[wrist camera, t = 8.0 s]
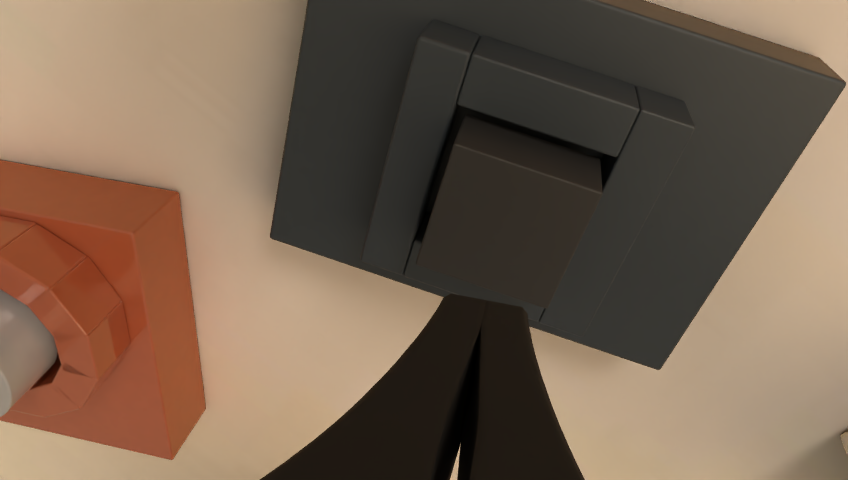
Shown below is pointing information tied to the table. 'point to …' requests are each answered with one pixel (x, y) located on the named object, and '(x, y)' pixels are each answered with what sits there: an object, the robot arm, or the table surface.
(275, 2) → the table surface
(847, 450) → the syrup box
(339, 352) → the table surface
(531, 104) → the dark gray socket plate
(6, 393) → the gray push button
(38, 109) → the table surface
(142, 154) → the table surface
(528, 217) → the dark top block
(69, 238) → the orange knob plate
